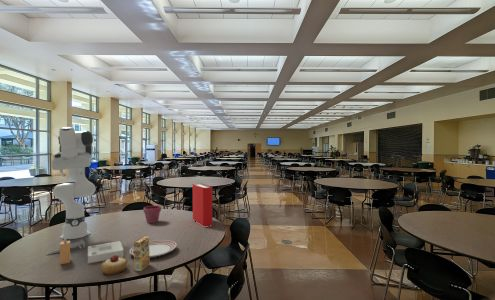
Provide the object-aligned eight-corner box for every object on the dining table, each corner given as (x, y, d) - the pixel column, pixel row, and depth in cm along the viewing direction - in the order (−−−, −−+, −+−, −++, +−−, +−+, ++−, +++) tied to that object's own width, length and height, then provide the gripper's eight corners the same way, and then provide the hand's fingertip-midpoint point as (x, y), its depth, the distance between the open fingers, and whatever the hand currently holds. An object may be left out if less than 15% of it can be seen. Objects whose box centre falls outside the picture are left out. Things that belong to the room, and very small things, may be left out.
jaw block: (60, 261, 154) (60, 238, 154) (70, 259, 156) (70, 237, 156) (60, 264, 150) (59, 240, 150) (69, 262, 153) (69, 239, 152)
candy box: (141, 271, 141) (140, 242, 141) (133, 271, 141) (133, 241, 141) (149, 264, 150) (149, 236, 149) (142, 264, 150) (142, 236, 150)
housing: (88, 252, 167) (87, 245, 167) (120, 247, 176) (120, 240, 176) (87, 263, 151) (87, 255, 151) (123, 256, 160) (123, 249, 160)
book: (192, 220, 241) (192, 183, 241) (201, 218, 245) (201, 183, 245) (203, 227, 218) (203, 187, 217) (213, 226, 222) (212, 187, 221)
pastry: (125, 265, 150) (126, 248, 151) (127, 273, 140) (128, 255, 140) (101, 268, 145) (101, 252, 145) (101, 277, 134) (101, 259, 134)
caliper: (84, 248, 175) (84, 238, 175) (84, 248, 175) (84, 238, 174) (45, 255, 164) (45, 244, 164) (45, 255, 163) (45, 245, 163)
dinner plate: (119, 260, 156) (119, 254, 156) (144, 243, 183) (144, 238, 183) (165, 262, 152) (165, 256, 152) (183, 245, 180) (183, 240, 180)
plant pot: (152, 219, 245) (152, 204, 245) (164, 220, 239) (164, 206, 239) (140, 223, 232) (139, 208, 232) (152, 225, 226) (152, 209, 226)
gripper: (90, 151, 175) (92, 172, 177) (51, 154, 167) (55, 176, 169) (88, 152, 169) (91, 174, 171) (49, 155, 161) (52, 178, 163)
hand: (73, 175), depth 170 cm, fingers open, 8 cm apart
